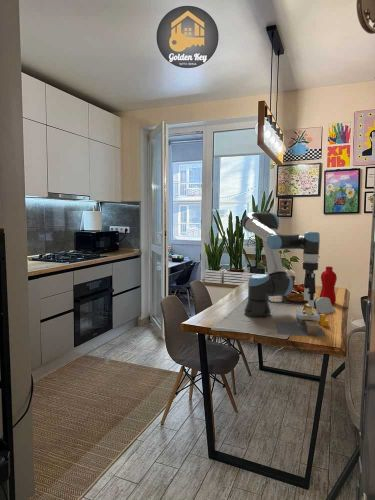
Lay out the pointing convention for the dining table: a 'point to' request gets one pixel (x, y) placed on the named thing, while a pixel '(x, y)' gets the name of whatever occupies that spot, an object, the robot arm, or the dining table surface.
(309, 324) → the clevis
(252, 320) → the dining table surface
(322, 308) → the grey rounded block
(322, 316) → the pipe clamp
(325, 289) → the water bottle
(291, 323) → the mat
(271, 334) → the dining table surface
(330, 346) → the dining table surface
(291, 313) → the dining table surface
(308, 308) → the brass pin
